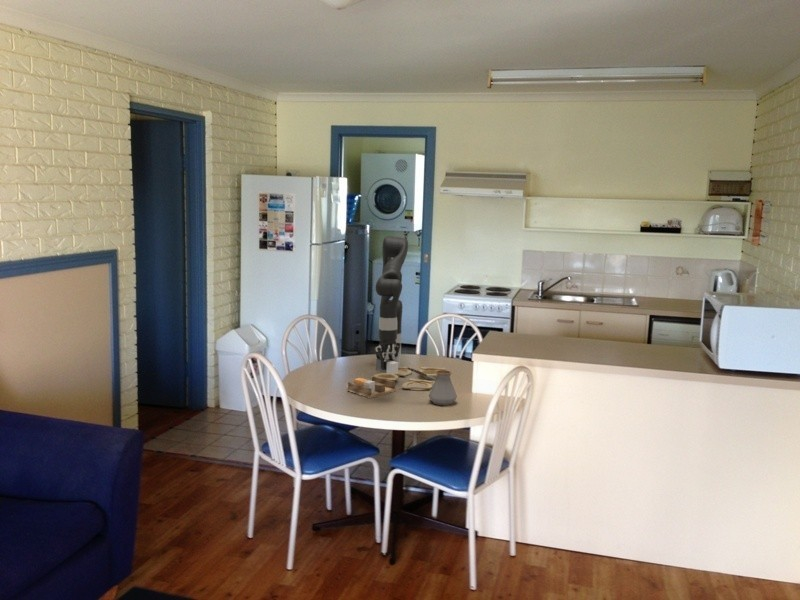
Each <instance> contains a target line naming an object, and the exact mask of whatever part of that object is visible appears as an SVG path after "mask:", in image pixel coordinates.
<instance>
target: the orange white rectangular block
mask: <svg viewBox="0 0 800 600" xmlns="http://www.w3.org/2000/svg"><path fill="white" fill-rule="evenodd" d="M353 383H354V384H357V385H361V386H364V387H368V388H371V393H373V392H375V382H374V381H372V380H371V379H366V378H363V377H357V378H354V379H353Z"/></svg>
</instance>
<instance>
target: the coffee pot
mask: <svg viewBox="0 0 800 600" xmlns="http://www.w3.org/2000/svg"><path fill="white" fill-rule="evenodd" d="M406 367H407V369H406V370H408V369H409V370H411V371H412V372H413V373H415V374H417V375H420V376H422V375H423V376H426V377H429V378H431V379H430V380H434V382H433V384H432V388H430V391H429V393H428V398H429V399H430V400H431V401H432V402H433V404H435V405H438V406H448V405H449V406H450V405H452V404H453V402H456V399H457V398H458V395H457V393H456V389H455V388H454V385H453V382H452V380H451V375H452V371H450V370H447V369H446V370H439V371H436V374H437V378H434V377H431V376H429V375H427V374H424V373H422V372H420V371H419V370H417V369H415V368H412V369H411V368H409V367H410V366H406ZM406 372H407V371H406ZM423 376H422V377H423Z"/></svg>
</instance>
